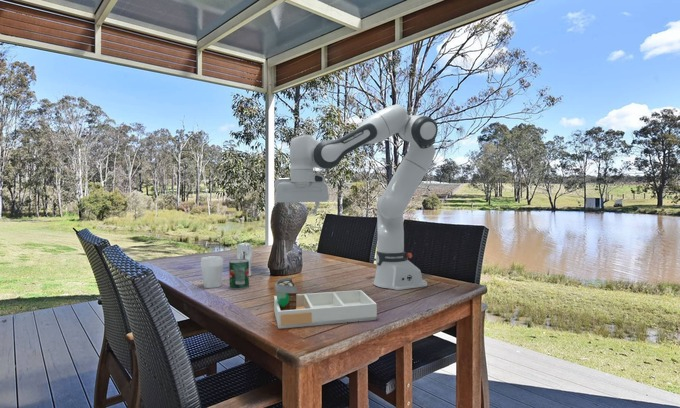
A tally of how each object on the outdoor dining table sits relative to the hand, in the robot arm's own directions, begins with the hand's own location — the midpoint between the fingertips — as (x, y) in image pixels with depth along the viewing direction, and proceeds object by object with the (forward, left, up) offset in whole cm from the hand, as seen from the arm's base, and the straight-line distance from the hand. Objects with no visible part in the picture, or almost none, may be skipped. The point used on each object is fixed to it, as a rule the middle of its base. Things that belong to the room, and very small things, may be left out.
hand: (302, 214), depth 144 cm
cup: (+35, -21, -31) cm, 51 cm away
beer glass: (+22, -37, -31) cm, 53 cm away
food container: (+9, +25, -30) cm, 40 cm away
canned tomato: (+24, -17, -31) cm, 43 cm away
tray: (-3, +26, -31) cm, 40 cm away
